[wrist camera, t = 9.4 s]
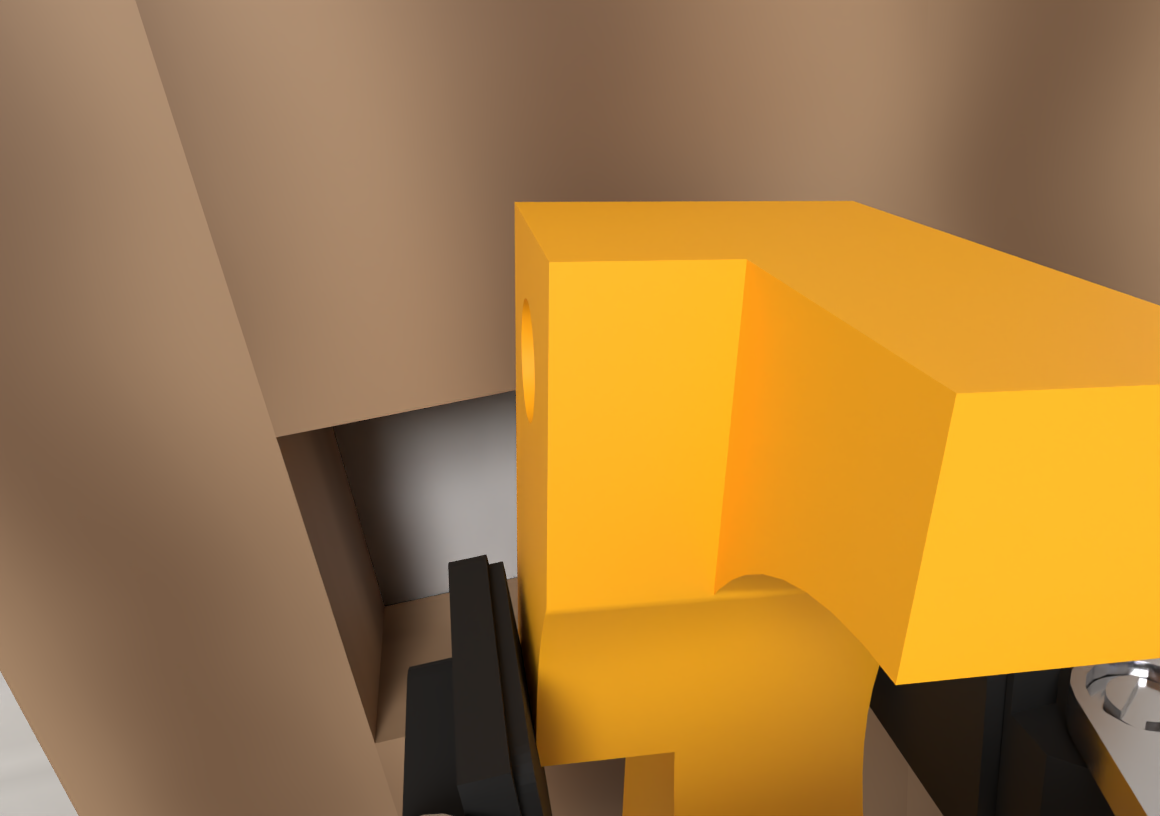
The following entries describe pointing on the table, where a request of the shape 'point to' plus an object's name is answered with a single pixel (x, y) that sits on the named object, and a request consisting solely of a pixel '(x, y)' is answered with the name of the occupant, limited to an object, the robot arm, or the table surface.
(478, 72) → the cutout shelf
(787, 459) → the orange curved block
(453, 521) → the table surface
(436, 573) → the table surface
